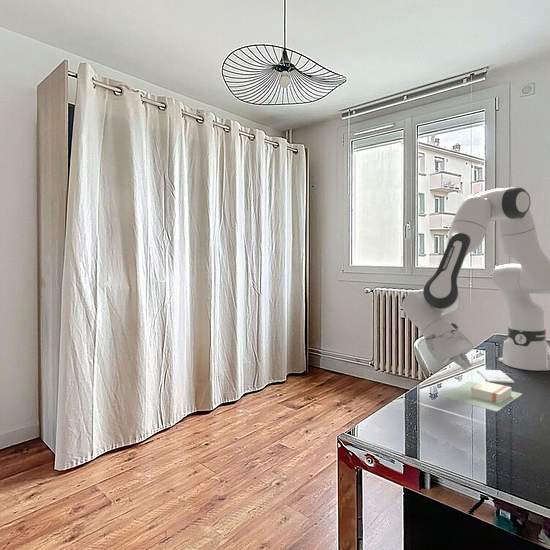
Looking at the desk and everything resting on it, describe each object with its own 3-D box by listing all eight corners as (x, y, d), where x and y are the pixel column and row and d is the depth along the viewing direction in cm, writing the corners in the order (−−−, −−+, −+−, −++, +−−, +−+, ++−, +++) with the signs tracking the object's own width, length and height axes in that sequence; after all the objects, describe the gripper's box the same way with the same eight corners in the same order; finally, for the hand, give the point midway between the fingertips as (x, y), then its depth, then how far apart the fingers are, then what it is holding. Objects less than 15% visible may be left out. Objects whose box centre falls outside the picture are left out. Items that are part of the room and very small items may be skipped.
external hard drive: (501, 374, 142) (515, 386, 130) (476, 373, 143) (488, 384, 131) (501, 370, 142) (515, 381, 130) (476, 369, 143) (488, 380, 131)
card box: (483, 380, 124) (511, 387, 118) (483, 389, 124) (511, 395, 118) (471, 387, 118) (499, 394, 112) (471, 396, 119) (499, 403, 112)
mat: (469, 382, 132) (469, 381, 132) (522, 394, 120) (522, 393, 120) (440, 397, 119) (440, 395, 119) (497, 412, 107) (497, 411, 107)
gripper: (429, 331, 121) (461, 369, 115) (459, 323, 135) (489, 356, 128) (416, 343, 125) (446, 381, 118) (446, 334, 138) (474, 367, 132)
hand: (468, 368), depth 123 cm, fingers closed
